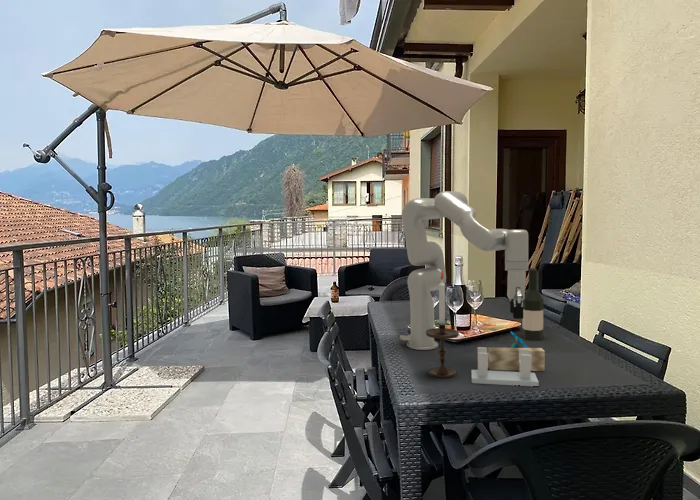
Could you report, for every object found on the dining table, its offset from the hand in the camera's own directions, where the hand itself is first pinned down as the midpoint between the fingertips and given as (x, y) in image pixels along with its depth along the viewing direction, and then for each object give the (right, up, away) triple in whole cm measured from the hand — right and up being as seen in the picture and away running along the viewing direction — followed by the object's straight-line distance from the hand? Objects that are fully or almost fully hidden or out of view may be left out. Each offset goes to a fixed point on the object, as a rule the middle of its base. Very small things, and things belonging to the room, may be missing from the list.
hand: (516, 315), depth 169 cm
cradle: (-8, -19, -10) cm, 23 cm away
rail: (0, -19, +1) cm, 19 cm away
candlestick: (-26, -20, -3) cm, 33 cm away
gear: (+9, -17, +24) cm, 30 cm away
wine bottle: (+21, -15, +41) cm, 49 cm away
